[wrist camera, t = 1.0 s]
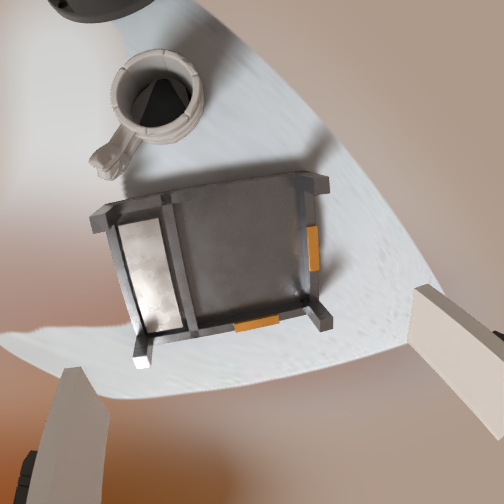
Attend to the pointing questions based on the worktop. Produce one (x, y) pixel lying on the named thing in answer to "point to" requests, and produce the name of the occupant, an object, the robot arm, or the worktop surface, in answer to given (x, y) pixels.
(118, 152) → the mug
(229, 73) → the worktop surface
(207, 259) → the tray
